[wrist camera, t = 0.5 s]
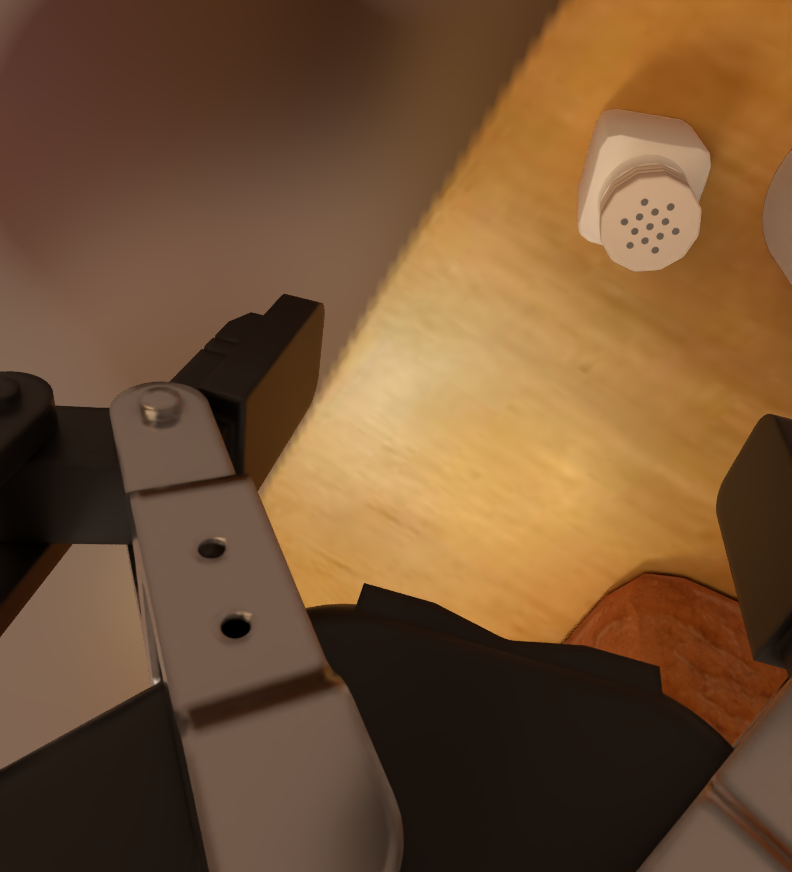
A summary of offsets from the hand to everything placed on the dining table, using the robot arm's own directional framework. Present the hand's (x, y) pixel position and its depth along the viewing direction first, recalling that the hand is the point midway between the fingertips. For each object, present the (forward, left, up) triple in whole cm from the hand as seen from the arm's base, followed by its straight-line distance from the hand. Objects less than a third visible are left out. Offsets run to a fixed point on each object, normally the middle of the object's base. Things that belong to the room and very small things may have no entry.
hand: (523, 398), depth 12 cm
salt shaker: (0, +3, -22) cm, 23 cm away
